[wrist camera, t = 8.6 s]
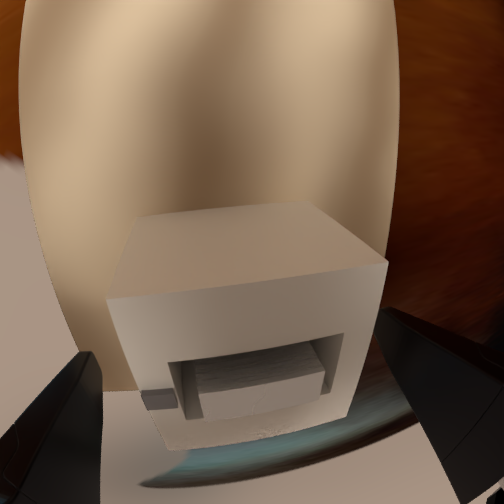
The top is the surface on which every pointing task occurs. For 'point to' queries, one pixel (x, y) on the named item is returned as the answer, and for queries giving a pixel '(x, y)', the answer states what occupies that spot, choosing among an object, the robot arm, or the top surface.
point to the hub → (242, 309)
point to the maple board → (197, 127)
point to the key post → (258, 381)
